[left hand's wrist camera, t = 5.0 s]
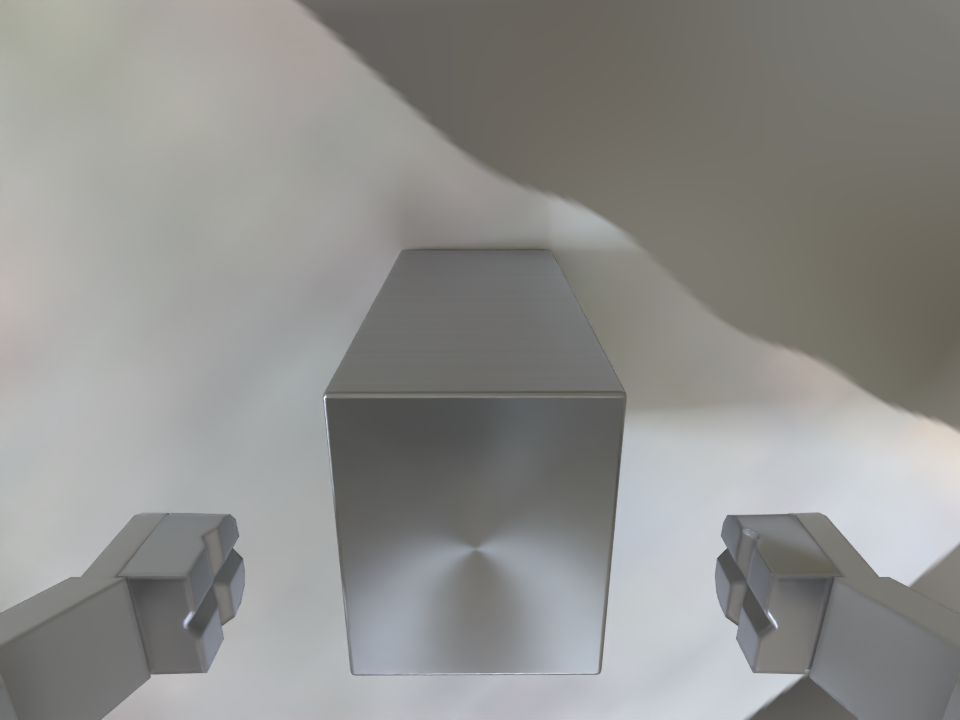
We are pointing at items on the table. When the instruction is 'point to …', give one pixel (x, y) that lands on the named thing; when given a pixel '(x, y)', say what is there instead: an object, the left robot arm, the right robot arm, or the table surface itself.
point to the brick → (475, 471)
